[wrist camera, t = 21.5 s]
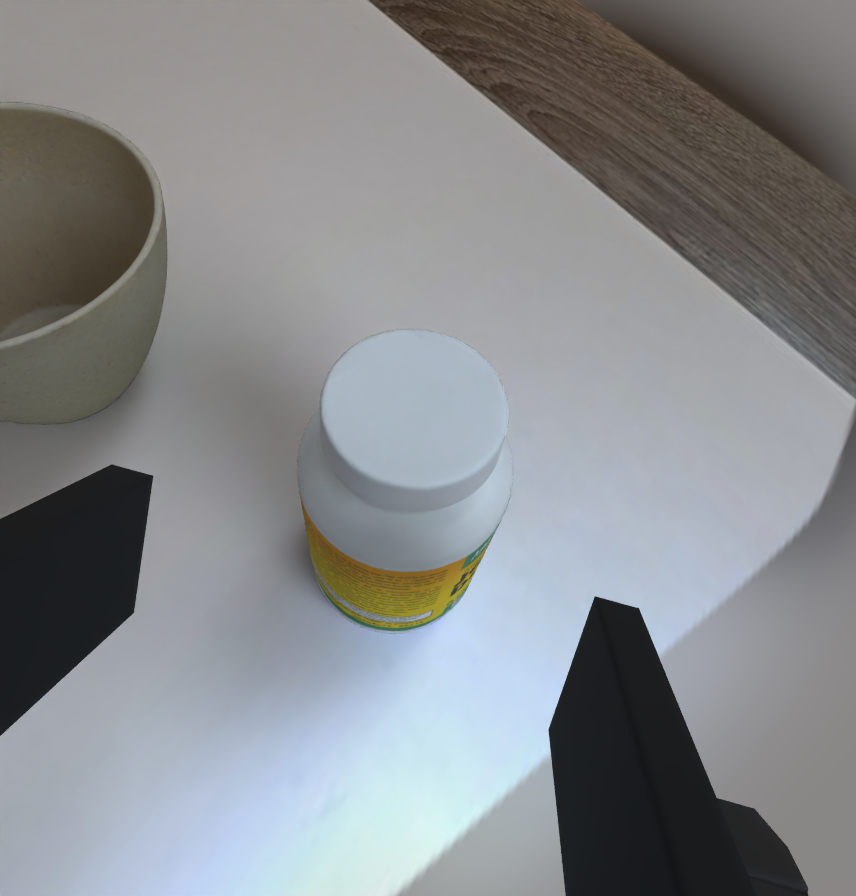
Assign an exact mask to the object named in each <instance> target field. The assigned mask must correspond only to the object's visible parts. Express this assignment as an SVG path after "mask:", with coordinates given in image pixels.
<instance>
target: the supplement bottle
mask: <svg viewBox="0 0 856 896" xmlns="http://www.w3.org/2000/svg"><path fill="white" fill-rule="evenodd" d="M508 420H509V408H508V399H507V396H506V393H505V389H504V386H503V384H502V382H501V380H500V378H499V376H498V375H497V373H496V372H495V370H494V369H493V367H492V366H491V365H490V363H489V362H488V361H487V360H486V359H485V358H484V357H483V356H482V355H481V354H480V353H478V352H477V351H475V350H474V349H473V348H471V347H470V346H469V345H467V344H465V343H463V342H461V341H459V340H457V339H455V338H452V337H450V336H447V335H444V334H441V333H437V332H433V331H428V330H421V329H399V330H392V331H387V332H383V333H379V334H376V335H373V336H370V337H368V338H366V339H364V340H362V341H360V342H359V343H357V344H355V345H354V346H352V347H351V348H349V349H348V350H347V351H346V352H345V353H344V354H343V355H342V356H341V357H340V358H339V359H338V360H337V361H336V363H335V364H334V365H333V367H332V368H331V370H330V371H329V373H328V375H327V377H326V379H325V382H324V385H323V388H322V392H321V398H320V407H319V408H318V409H317V411H316V412H315V414H314V415H313V416H312V418H311V420H310V421H309V423H308V425H307V427H306V429H305V431H304V434H303V437H302V439H301V443H300V447H299V452H298V459H297V479H298V486H299V493H300V498H301V503H302V509H303V514H304V520H305V525H306V531H307V537H308V544H309V550H310V556H311V562H312V567H313V571H314V574H315V577H316V580H317V583H318V585H319V587H320V589H321V590H322V592H323V594H324V596H325V597H326V598H327V600H328V601H329V603H330V604H331V605H332V606H333V607H334V608H335V609H336V610H337V611H338V612H339V613H340V614H341V615H342V616H344V617H345V618H346V619H348V620H349V621H351V622H353V623H354V624H356V625H358V626H360V627H363V628H366V629H368V630H372V631H375V632H381V633H389V634H400V633H407V632H411V631H415V630H418V629H421V628H423V627H426V626H428V625H430V624H432V623H434V622H435V621H437V620H439V619H440V618H442V617H443V616H444V615H446V614H447V613H448V612H449V611H450V610H451V609H452V608H453V607H454V606H455V605H456V604H457V603H458V602H459V601H460V599H461V598H462V597H463V595H464V593H465V591H466V590H467V588H468V586H469V584H470V582H471V580H472V577H473V575H474V573H475V571H476V569H477V567H478V565H479V563H480V561H481V559H482V557H483V555H484V553H485V551H486V549H487V547H488V545H489V543H490V541H491V539H492V537H493V535H494V533H495V531H496V529H497V528H498V526H499V523H500V521H501V519H502V517H503V515H504V513H505V511H506V508H507V505H508V502H509V499H510V495H511V490H512V485H513V460H512V455H511V450H510V447H509V443H508V440H507V438H506V432H507V427H508Z"/></svg>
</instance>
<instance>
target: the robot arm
mask: <svg viewBox="0 0 856 896" xmlns="http://www.w3.org/2000/svg"><path fill="white" fill-rule="evenodd" d="M152 480H153V476H152V475H148V474H144V473H141V472H137V471H133V470H130V469H126V468H123V467H119V466H115V465H110V466H108V467H106V468H104V469H102V470H99V471H97V472H95V473H93V474H91V475H89V476H87V477H85V478H83V479H81V480H79V481H77V482H75V483H73V484H71V485H69V486H67V487H65V488H63V489H61V490H59V491H57V492H55V493H52V494H50V495H48V496H46V497H44V498H42V499H40V500H38V501H36V502H34V503H32V504H30V505H28V506H26V507H24V508H22V509H20V510H18V511H16V512H14V513H12V514H10V515H8V516H6V517H3V518H1V519H0V736H1V735H2V734H3V733H4V732H5V731H6V730H7V729H8V728H9V727H10V726H11V725H13V724H14V723H15V722H16V721H17V720H18V719H19V718H20V717H21V716H22V715H23V714H25V713H26V712H27V711H28V710H29V709H30V708H31V707H32V706H33V705H34V704H35V703H36V702H38V701H39V700H40V699H41V698H42V697H43V696H44V695H45V694H46V693H47V692H48V691H49V690H51V689H52V688H53V687H54V686H55V685H56V684H57V683H58V682H59V681H60V680H61V679H62V678H64V677H65V676H66V675H67V674H68V673H69V672H70V671H71V670H72V669H73V668H74V667H75V666H77V665H78V664H79V663H80V662H81V661H82V660H83V659H84V658H85V657H86V656H87V655H88V654H90V653H91V652H92V651H93V650H94V649H95V648H96V647H97V646H98V645H99V644H100V643H102V642H103V641H104V640H105V639H106V638H107V637H108V636H109V635H110V634H111V633H112V632H113V631H115V630H116V629H117V628H118V627H119V626H120V625H121V624H122V623H123V622H124V621H125V620H126V619H128V618H129V617H130V616H131V615H132V614H133V613H134V608H135V601H136V594H137V587H138V580H139V572H140V565H141V558H142V551H143V544H144V537H145V530H146V523H147V516H148V509H149V502H150V494H151V487H152ZM549 738H550V748H551V757H552V767H553V777H554V786H555V795H556V806H557V815H558V824H559V835H560V844H561V854H562V863H563V873H564V883H565V893H566V896H808V887H807V885H806V883H805V881H804V879H803V877H802V875H801V873H800V871H799V869H798V867H797V865H796V863H795V861H794V859H793V857H792V855H791V853H790V851H789V849H788V847H787V846H786V845H785V844H784V843H783V841H782V840H781V839H780V838H779V837H778V836H777V834H776V833H775V832H774V831H773V830H772V829H771V827H770V826H769V825H768V824H767V823H766V822H765V820H764V819H763V818H762V817H761V816H760V815H759V814H758V812H757V811H756V810H755V809H753V808H750V807H746V806H742V805H739V804H735V803H732V802H729V801H725V800H722V799H718V798H716V795H715V793H714V791H713V788H712V786H711V783H710V781H709V778H708V776H707V774H706V771H705V769H704V766H703V764H702V762H701V759H700V757H699V754H698V752H697V749H696V747H695V744H694V742H693V740H692V737H691V735H690V732H689V730H688V727H687V725H686V722H685V720H684V718H683V715H682V713H681V710H680V708H679V705H678V703H677V701H676V698H675V696H674V693H673V691H672V688H671V686H670V684H669V681H668V678H667V676H666V674H665V671H664V669H663V666H662V664H661V662H660V659H659V656H658V654H657V652H656V649H655V647H654V644H653V642H652V639H651V637H650V635H649V632H648V630H647V627H646V625H645V622H644V620H643V617H642V615H641V613H640V610H639V608H635V607H632V606H628V605H624V604H621V603H617V602H613V601H610V600H606V599H602V598H599V597H595V598H594V600H593V603H592V606H591V609H590V612H589V615H588V618H587V621H586V623H585V626H584V629H583V632H582V635H581V638H580V641H579V644H578V646H577V649H576V652H575V655H574V658H573V661H572V664H571V667H570V669H569V672H568V675H567V678H566V681H565V684H564V687H563V690H562V692H561V695H560V698H559V701H558V704H557V707H556V710H555V713H554V715H553V718H552V721H551V724H550V727H549Z"/></svg>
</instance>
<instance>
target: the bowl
mask: <svg viewBox="0 0 856 896" xmlns="http://www.w3.org/2000/svg"><path fill="white" fill-rule="evenodd" d="M166 277H167V229H166V217H165V209H164V203H163V197H162V192H161V187H160V183H159V180H158V178H157V175H156V173H155V171H154V169H153V167H152V166H151V164H150V162H149V161H148V160H147V158H146V157H145V156H144V155H143V153H142V152H141V151H140V150H139V149H138V148H137V147H136V146H135V145H134V144H133V143H132V142H131V141H129V140H128V139H127V138H125V137H124V136H123V135H121V134H120V133H119V132H117V131H115V130H114V129H112V128H110V127H109V126H107V125H105V124H103V123H101V122H99V121H97V120H94V119H92V118H90V117H87V116H84V115H81V114H78V113H75V112H72V111H68V110H64V109H60V108H55V107H50V106H44V105H38V104H30V103H20V102H0V420H3V421H10V422H17V423H31V424H58V423H66V422H72V421H76V420H79V419H82V418H86V417H88V416H91V415H93V414H95V413H97V412H99V411H101V410H103V409H104V408H106V407H107V406H109V405H110V404H111V403H113V402H114V401H115V400H116V399H118V398H119V397H120V396H121V395H122V394H123V392H124V391H125V390H126V389H127V388H128V386H129V385H130V384H131V382H132V381H133V379H134V378H135V376H136V375H137V373H138V371H139V370H140V368H141V366H142V365H143V363H144V361H145V358H146V356H147V354H148V352H149V349H150V347H151V345H152V342H153V339H154V336H155V333H156V330H157V327H158V323H159V319H160V315H161V311H162V306H163V300H164V295H165V287H166Z"/></svg>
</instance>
